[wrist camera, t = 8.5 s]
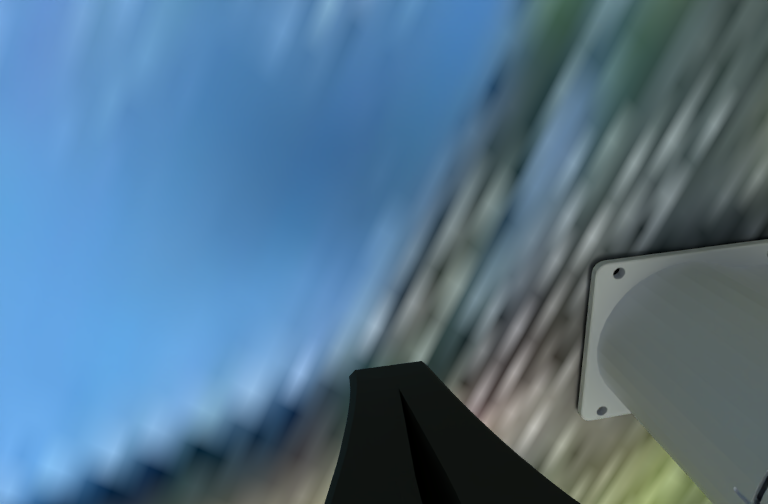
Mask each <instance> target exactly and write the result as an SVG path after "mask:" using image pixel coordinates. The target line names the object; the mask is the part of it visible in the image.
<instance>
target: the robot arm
mask: <svg viewBox="0 0 768 504" xmlns="http://www.w3.org/2000/svg"><path fill="white" fill-rule="evenodd" d="M617 268H620V269H619V272H618V273H617V274H615V275H613V273H614V271H615V270H616V269H617ZM349 379H350V403H349V410H348V417H347V423H346V428H345V432H344V436H343V441H342V445H341V450H340V454H339V458H338V462H337V465H336V468H335V472H334V475H333V478H332V481H331V484H330V488H329V491H328V494H327V497H326V501H325V504H580V503H579V502H577V501H576V500H575V499H573V498H572V497H570V496H569V495H568V494H566V493H565V492H564V491H562V490H561V489H560V488H559V487H557V486H556V485H555V484H553V483H552V482H551V481H550V480H548V479H547V478H546V477H544V476H543V475H542V474H541V473H539V472H538V471H537V470H536V469H535V468H533V467H532V466H531V465H530V464H529V463H527V462H526V461H525V460H524V459H523V458H521V457H520V456H519V455H518V454H517V453H515V452H514V451H513V450H512V449H511V448H510V447H509V446H507V445H506V444H505V443H504V442H503V441H502V440H501V439H500V438H499V437H497V436H496V435H495V434H494V433H493V432H492V431H491V430H490V429H489V428H488V427H487V426H486V425H485V424H484V423H482V422H481V421H480V420H479V419H478V418H477V417H476V416H475V415H474V414H473V413H472V412H471V411H470V410H469V409H468V408H467V407H466V406H465V405H464V404H463V403H462V402H461V401H460V400H459V399H458V398H457V397H456V396H455V395H454V394H453V393H452V392H451V391H450V390H449V389H448V388H447V387H446V386H445V384H444V383H443V382H442V381H441V380H440V379H439V378H438V377H437V376H436V375H435V374H434V373H433V371H432V370H431V369H430V368H429V367H428V366H427V365H426V364H425V363H423V362H422V361H419V362H412V363H404V364H397V365H390V366H382V367H375V368H368V369H360V370H355V371H354V372H353V373H352V374H351V375H350V376H349ZM600 407H601V408H600ZM598 408H600V409H598ZM597 409H598V410H597ZM578 413H579V414H580V416H581V417H582V418H583V419H584V420H586V421H591V420H597V419H602V418H608V417H614V416H620V415H626V414H633V415H634V416H635V417H636V419H637V420H638V421H639V422H640V423H641V424H642V425H643V426H644V427H645V428H646V430H647V431H648V432H649V433H650V434H651V435H652V436H653V437H654V438H655V440H656V441H657V442H658V443H659V444H660V445H661V446H662V447H663V448H664V450H665V451H666V452H667V453H668V454H669V455H670V456H671V457H672V458H673V460H674V461H675V462H676V463H677V464H678V465H679V466H680V467H681V468H682V469H683V471H684V472H685V473H686V474H687V475H688V476H689V477H690V478H691V479H692V481H693V482H694V483H695V484H696V485H697V486H698V487H699V488H700V489H701V491H702V492H703V493H704V494H705V495H706V496H707V497H708V498H709V499H710V501H711V502H712V503H713V504H768V239H764V240H757V241H749V242H741V243H734V244H726V245H718V246H711V247H703V248H695V249H688V250H680V251H672V252H665V253H657V254H650V255H642V256H634V257H627V258H619V259H611V260H604V261H601V262H599V263H598V264H596V265H595V267H594V268H593V270H592V274H591V284H590V294H589V304H588V314H587V323H586V333H585V343H584V353H583V363H582V372H581V382H580V392H579V402H578Z"/></svg>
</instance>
